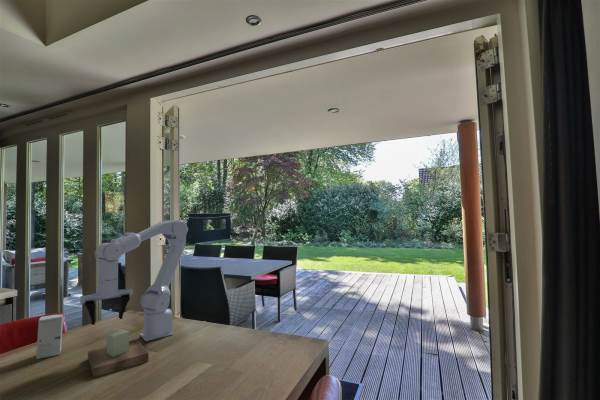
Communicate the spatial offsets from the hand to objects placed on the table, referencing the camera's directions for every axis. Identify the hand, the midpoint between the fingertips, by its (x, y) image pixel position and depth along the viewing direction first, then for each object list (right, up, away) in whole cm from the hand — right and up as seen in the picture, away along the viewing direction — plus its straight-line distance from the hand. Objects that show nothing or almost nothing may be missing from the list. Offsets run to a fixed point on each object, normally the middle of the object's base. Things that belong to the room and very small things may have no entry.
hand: (107, 321), depth 98 cm
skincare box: (-18, -11, -1) cm, 21 cm away
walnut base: (+7, -10, -5) cm, 13 cm away
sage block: (+7, -8, -5) cm, 11 cm away
